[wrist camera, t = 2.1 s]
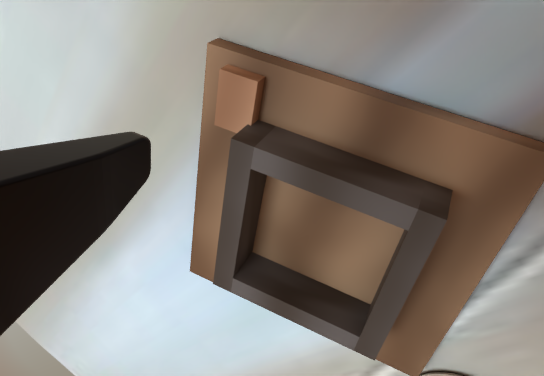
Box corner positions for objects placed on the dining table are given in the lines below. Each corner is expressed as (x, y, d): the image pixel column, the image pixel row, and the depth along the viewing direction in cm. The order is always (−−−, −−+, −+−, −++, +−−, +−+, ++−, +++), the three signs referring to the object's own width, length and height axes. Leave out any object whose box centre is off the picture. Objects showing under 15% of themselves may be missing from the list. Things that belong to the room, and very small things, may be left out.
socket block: (556, 146, 18) (565, 188, 16) (419, 365, 28) (410, 415, 25) (217, 38, 22) (178, 56, 20) (197, 262, 32) (168, 295, 29)
